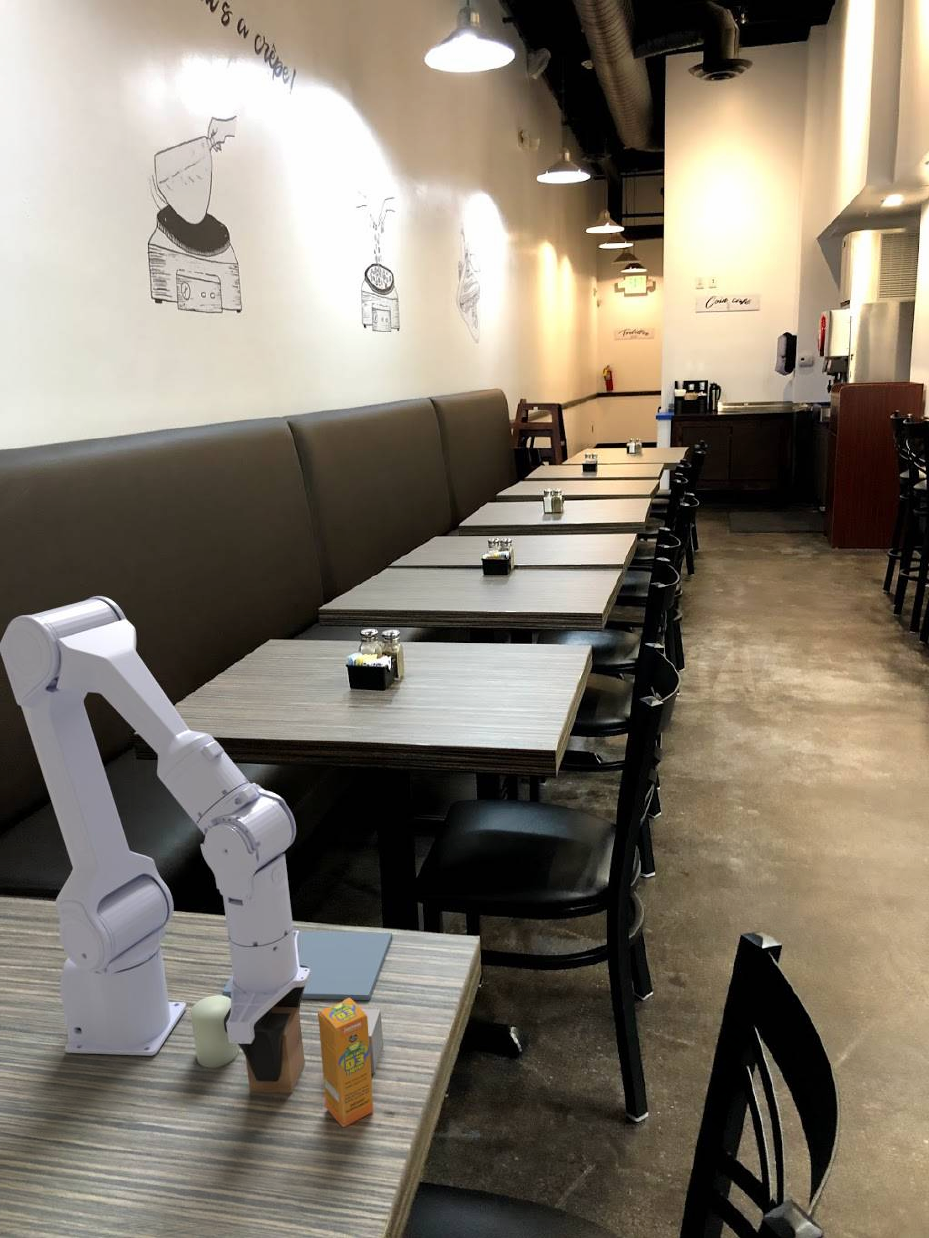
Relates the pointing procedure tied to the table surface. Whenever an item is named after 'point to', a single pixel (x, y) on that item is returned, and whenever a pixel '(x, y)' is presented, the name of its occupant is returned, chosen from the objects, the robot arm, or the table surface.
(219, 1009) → the sage cylinder
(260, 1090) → the walnut block
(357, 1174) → the table surface
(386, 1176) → the table surface
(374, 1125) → the table surface
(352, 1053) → the supplement box
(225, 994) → the slate mat
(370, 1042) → the grey cube
